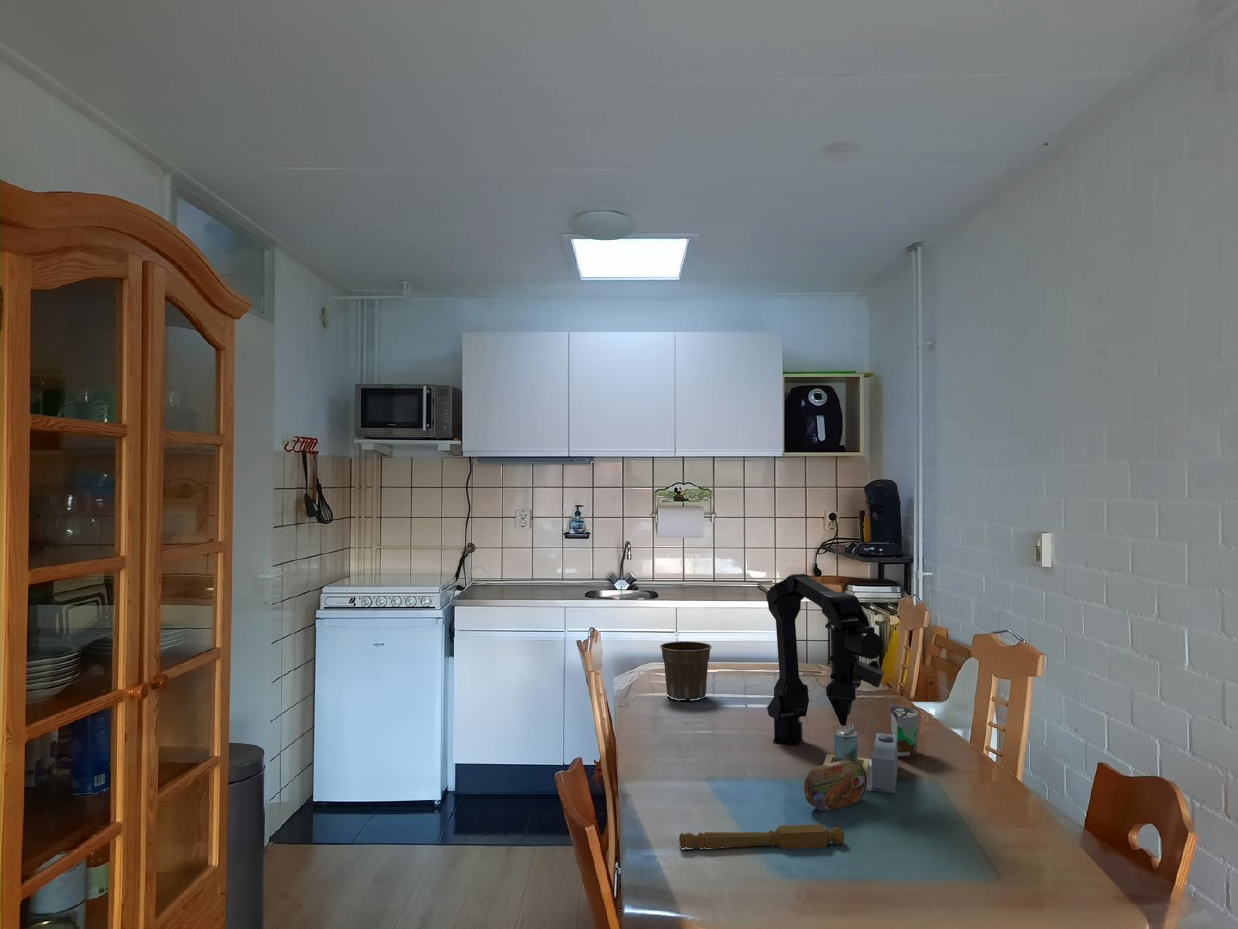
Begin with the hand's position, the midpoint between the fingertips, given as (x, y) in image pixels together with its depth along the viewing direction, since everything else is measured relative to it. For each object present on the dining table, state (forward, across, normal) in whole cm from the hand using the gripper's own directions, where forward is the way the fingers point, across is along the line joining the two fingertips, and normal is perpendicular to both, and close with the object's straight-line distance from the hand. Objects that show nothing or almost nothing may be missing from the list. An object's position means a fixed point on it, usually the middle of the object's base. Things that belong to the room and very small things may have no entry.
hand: (845, 720), depth 175 cm
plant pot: (+12, +52, +54) cm, 75 cm away
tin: (+12, -19, 0) cm, 23 cm away
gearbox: (+12, 0, -3) cm, 12 cm away
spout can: (+11, 0, 0) cm, 11 cm away
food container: (+12, +19, -13) cm, 26 cm away
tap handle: (+12, -42, +11) cm, 46 cm away
